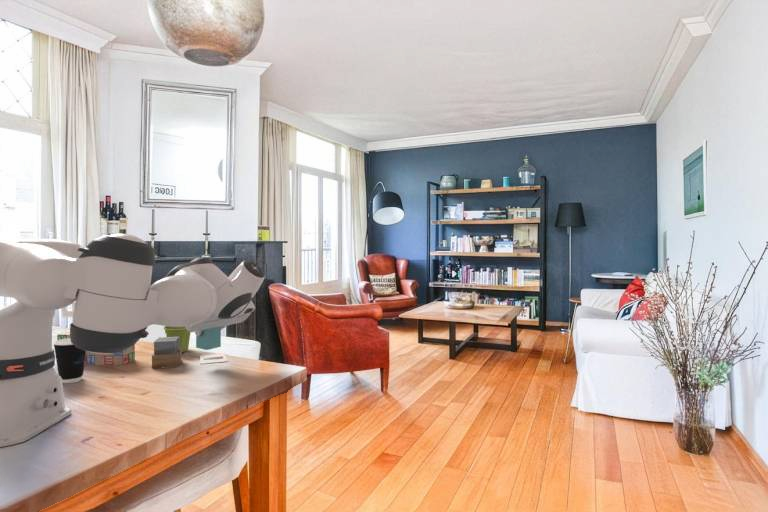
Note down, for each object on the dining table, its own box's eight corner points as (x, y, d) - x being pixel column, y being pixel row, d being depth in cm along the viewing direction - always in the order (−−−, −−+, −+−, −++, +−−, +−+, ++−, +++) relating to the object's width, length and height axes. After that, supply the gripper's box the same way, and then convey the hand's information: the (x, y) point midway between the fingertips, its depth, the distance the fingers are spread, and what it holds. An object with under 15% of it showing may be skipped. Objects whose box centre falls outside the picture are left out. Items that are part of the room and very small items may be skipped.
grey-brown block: (177, 367, 137) (176, 341, 137) (151, 368, 135) (151, 342, 135) (181, 361, 144) (181, 336, 144) (157, 362, 142) (157, 337, 142)
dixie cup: (86, 382, 122) (86, 342, 122) (50, 386, 118) (50, 345, 118) (90, 374, 129) (89, 336, 129) (56, 378, 125) (55, 339, 125)
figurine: (89, 341, 170) (88, 301, 169) (59, 342, 167) (58, 302, 166) (93, 337, 177) (93, 299, 176) (65, 338, 174) (64, 300, 173)
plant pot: (193, 347, 162) (193, 323, 162) (192, 353, 153) (192, 328, 153) (165, 349, 159) (164, 324, 159) (162, 355, 150) (161, 330, 150)
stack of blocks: (57, 363, 140) (56, 324, 140) (72, 358, 146) (71, 320, 146) (123, 365, 139) (122, 326, 138) (135, 360, 145) (135, 322, 145)
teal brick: (220, 346, 139) (220, 321, 138) (206, 350, 134) (206, 323, 134) (210, 344, 141) (210, 319, 141) (196, 347, 137) (196, 321, 137)
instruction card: (227, 361, 144) (227, 360, 144) (200, 364, 140) (200, 363, 140) (225, 354, 153) (225, 353, 153) (199, 356, 150) (199, 355, 150)
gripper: (202, 317, 122) (180, 347, 128) (259, 307, 140) (238, 334, 145) (192, 299, 125) (171, 330, 130) (249, 292, 142) (229, 319, 147)
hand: (207, 332), depth 138 cm, fingers closed on teal brick, 5 cm apart
